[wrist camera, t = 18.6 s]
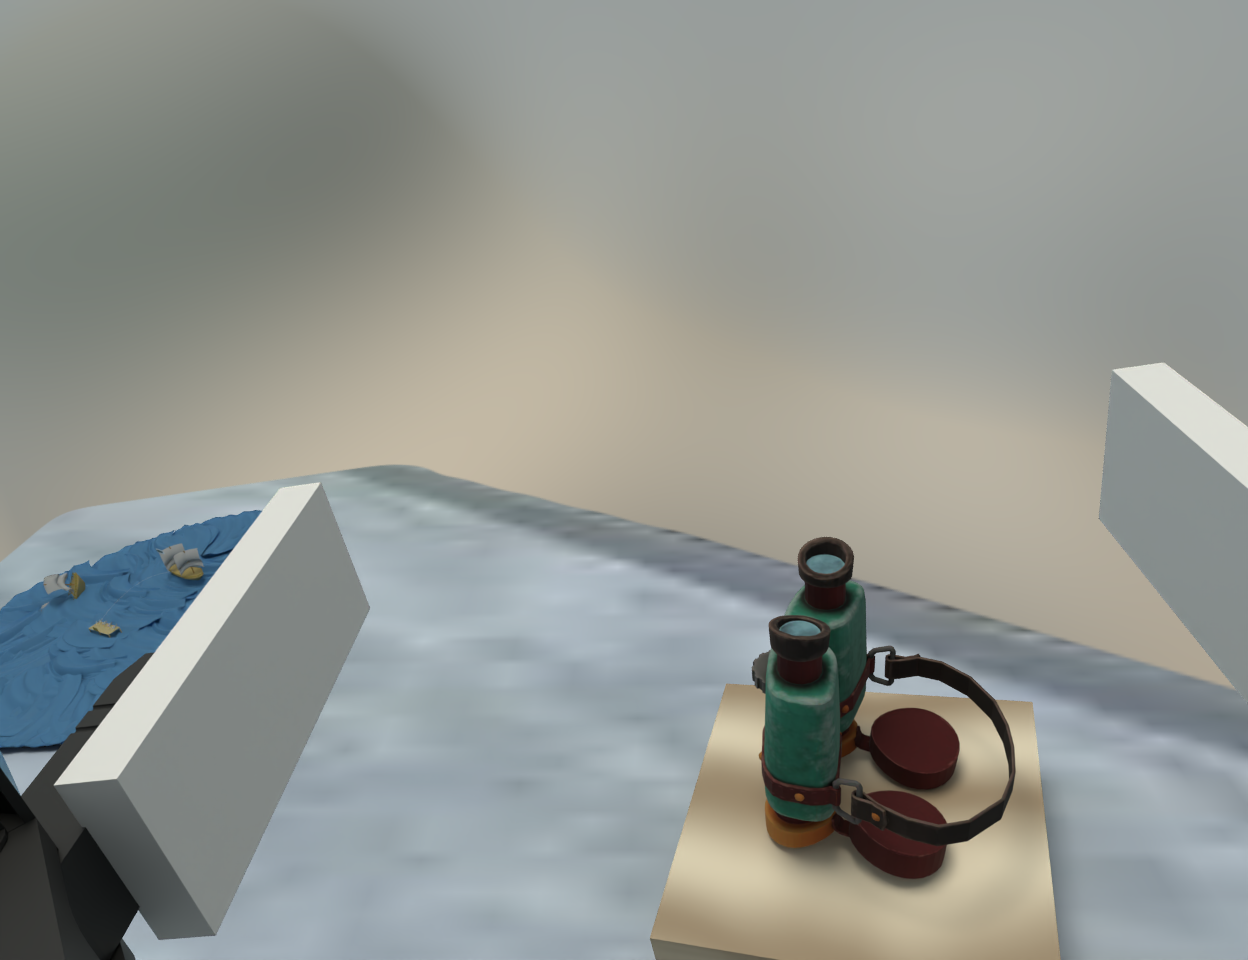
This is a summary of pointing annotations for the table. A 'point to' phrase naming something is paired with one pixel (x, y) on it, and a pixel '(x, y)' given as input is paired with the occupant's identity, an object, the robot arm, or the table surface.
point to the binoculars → (856, 729)
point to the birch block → (840, 876)
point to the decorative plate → (99, 625)
